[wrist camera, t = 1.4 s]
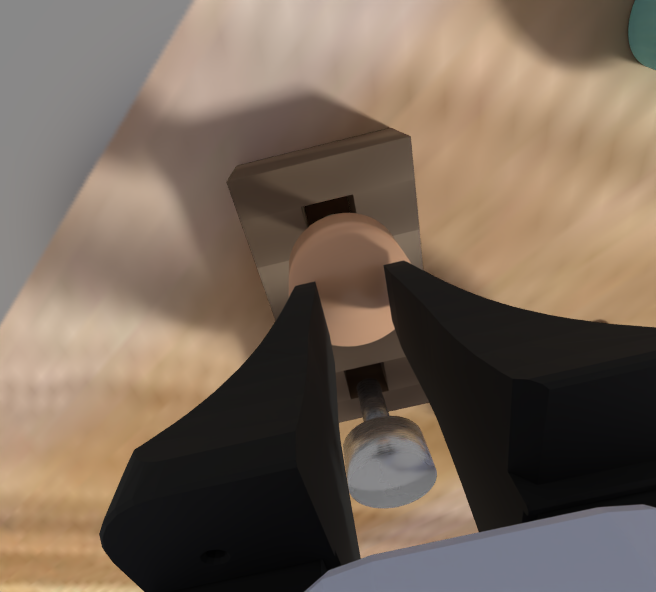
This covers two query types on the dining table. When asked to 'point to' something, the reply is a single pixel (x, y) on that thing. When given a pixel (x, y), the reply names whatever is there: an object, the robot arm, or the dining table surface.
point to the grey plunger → (386, 454)
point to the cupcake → (643, 32)
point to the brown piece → (363, 198)
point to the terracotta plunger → (348, 274)
